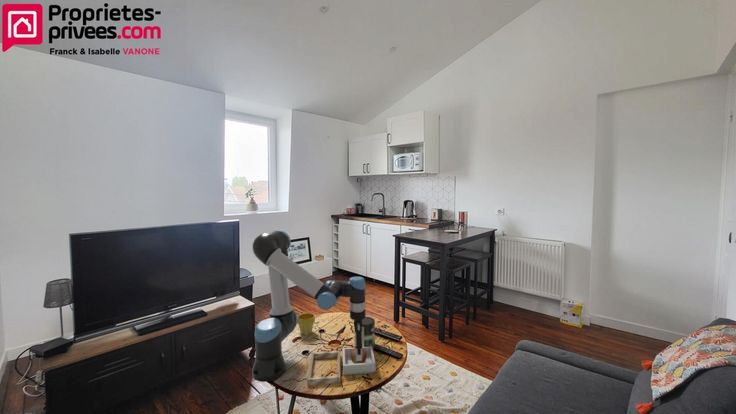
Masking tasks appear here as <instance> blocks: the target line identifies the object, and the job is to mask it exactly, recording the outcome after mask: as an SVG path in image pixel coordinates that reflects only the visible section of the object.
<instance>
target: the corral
mask: <svg viewBox="0 0 736 414" xmlns="http://www.w3.org/2000/svg"><path fill="white" fill-rule="evenodd" d="M328 358H329V359H330V358H337V375H333V376H331V375H330V376H317V377H312V374H313V368H314V362H315V359H328ZM306 380H307V381H306V383H307V384H306V385H307V386H313V385H329V384H341V351H340V350H334V351H317V352H315V351H314V352H311V356H310V362H309V367H308V373H307V378H306Z"/></svg>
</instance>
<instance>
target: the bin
mask: <svg viewBox="0 0 736 414" xmlns="http://www.w3.org/2000/svg"><path fill="white" fill-rule="evenodd" d="M354 348H355V347H343V348H342V373H343V376H350V375H351V376H352V375H364V374H365V375H367V374H376V371H377V370H376V360H375V355H374V348H373V349H372V346H371V347H362V348H363V349H365V351H366V353H367V358H366V360H365V362H364V363H359V364H354V363H353V362H352V360H351V351H352V349H354Z"/></svg>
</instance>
